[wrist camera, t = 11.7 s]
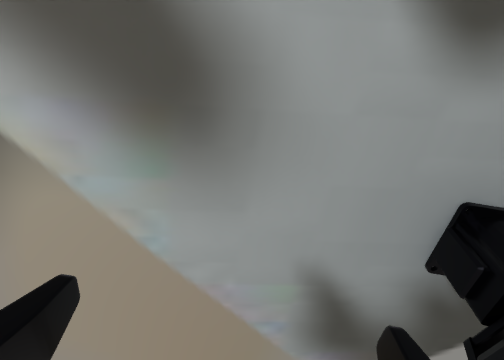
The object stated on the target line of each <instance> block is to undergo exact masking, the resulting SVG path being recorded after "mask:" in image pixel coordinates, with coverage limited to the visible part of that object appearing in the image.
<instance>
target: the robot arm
mask: <svg viewBox="0 0 504 360" xmlns="http://www.w3.org/2000/svg"><path fill="white" fill-rule="evenodd" d="M467 209H469V210H468V211H466V210H467ZM433 266H434V267H433ZM425 267H426V269H427V271H428V272H429V273H433V274H440V275H446V277H447V278H448V280H449V281H450V283H451V284H452V286H453V287H454V289H455V290H456V292H457V293H458V295H459V296H460V297H461V298H464V299H465V300H466V301H467V303H468V304H469V306H470V307H471V309H472V310H473V312H474V313H475V315H476V316H477V318H478V319H479V321H480V322H481V324H482V325H486V326H488V327H486V328H485V329H484V330H482V331H481V332H479V333H478V334H477V335H475V336H474V337H473V338H471V337H470V338H468V339H467V340H465V341H464V342H463V343H464V347H465V350H466V353H467V357H468V360H504V208H500V207H494V206H488V205H482V204H476V203H470V202H466V203H463V204H462V205H460V206H459V208H458V209H457V211H456V213H455V215H454V216H453V218H452V220H451V221H450V223H449V225H448V226H447V228H446V230H445V232H444V233H443V235H442V237H441V238H440V240H439V242H438V244H437V245H436V247H435V249H434V250H433V252H432V254H431V255H430V257H429V259H428V261H427V262H426V264H425ZM79 299H80V293H79V288H78V283H77V279H76V277H75V276H71V275H64V274H61V275H58V276H56V277H54V278H53V279H51V280H49V281H48V282H46V283H44V284H43V285H41V286H39V287H38V288H36V289H34V290H33V291H31V292H29V293H28V294H26V295H24V296H23V297H21V298H20V299H18V300H16V301H15V302H13V303H11V304H10V305H8V306H6V307H4V308H3V309H1V310H0V360H50V359H51V358H52V356H53V354H54V352H55V350H56V348H57V346H58V344H59V342H60V340H61V338H62V336H63V333H64V332H65V330H66V328H67V326H68V323H69V321H70V319H71V317H72V315H73V313H74V311H75V309H76V307H77V305H78V303H79ZM377 357H378V360H430V359H429V357H428V356H427V355H426V354H425V353H424V352H423V351H422V349H421V348H420V347H419V346H418V345H417V344H416V342H415V341H414V340H413V339H412V338H411V337H410V336H409V334H408V333H407V332H406V331H405V330H404V329H402V328H400V327H394V326H388V327H386V328H385V330H384V332H383V333H382V335H381V337H380V339H379V340H378V343H377Z"/></svg>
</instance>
